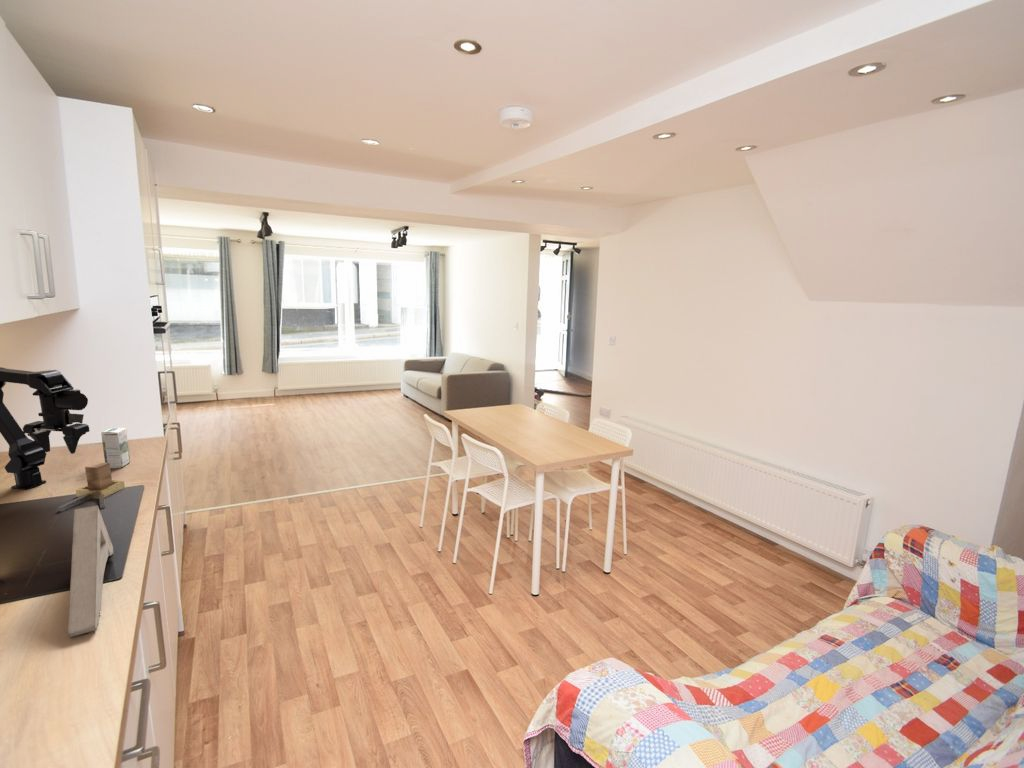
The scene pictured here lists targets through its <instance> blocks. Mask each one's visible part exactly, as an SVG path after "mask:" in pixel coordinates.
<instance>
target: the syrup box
mask: <svg viewBox="0 0 1024 768" xmlns="http://www.w3.org/2000/svg"><path fill="white" fill-rule="evenodd" d="M127 431H128V430H127V428H126V427H112V428H108V429H107V430H104V431H102V432H101V441H102V451H103V457H104V463H109V464H110V469H122V468H124V467H126V466H127V465H129V464H130V463H131V458H130V449H129V441H128V440H129V439H128V432H127ZM128 463H129V464H128ZM125 465H126V466H125ZM121 467H122V468H121Z"/></svg>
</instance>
